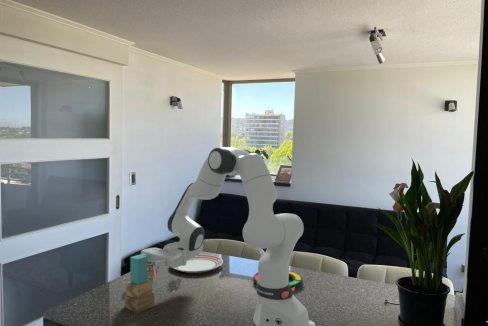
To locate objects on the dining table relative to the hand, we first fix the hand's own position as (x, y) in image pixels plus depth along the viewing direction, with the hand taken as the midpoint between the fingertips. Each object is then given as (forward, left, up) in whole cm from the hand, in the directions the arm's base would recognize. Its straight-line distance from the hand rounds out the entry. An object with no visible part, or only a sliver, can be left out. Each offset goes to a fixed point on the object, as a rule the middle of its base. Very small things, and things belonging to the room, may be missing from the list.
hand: (146, 261), depth 150 cm
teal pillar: (0, +3, -7) cm, 8 cm away
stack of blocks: (+24, -21, -17) cm, 36 cm away
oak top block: (0, +3, -12) cm, 13 cm away
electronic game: (-30, -52, -18) cm, 62 cm away
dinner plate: (+15, -45, -18) cm, 50 cm away
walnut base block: (0, +3, -17) cm, 18 cm away
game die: (+13, -6, -17) cm, 22 cm away
